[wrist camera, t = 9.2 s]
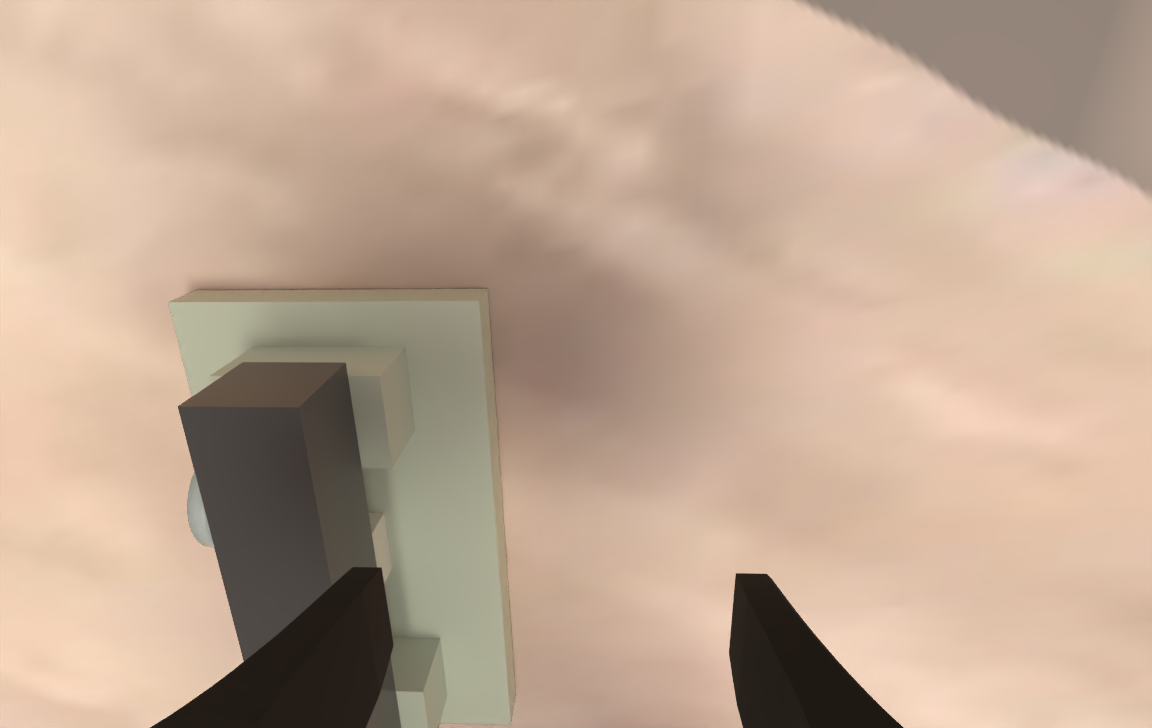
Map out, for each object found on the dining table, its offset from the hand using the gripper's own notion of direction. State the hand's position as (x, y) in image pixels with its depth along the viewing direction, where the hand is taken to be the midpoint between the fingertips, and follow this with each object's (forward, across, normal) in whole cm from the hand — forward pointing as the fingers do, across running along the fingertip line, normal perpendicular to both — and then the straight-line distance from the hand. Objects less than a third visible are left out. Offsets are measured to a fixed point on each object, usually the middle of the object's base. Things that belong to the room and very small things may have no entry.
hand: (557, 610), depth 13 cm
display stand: (+10, +8, +5) cm, 14 cm away
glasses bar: (+6, +8, +5) cm, 11 cm away
